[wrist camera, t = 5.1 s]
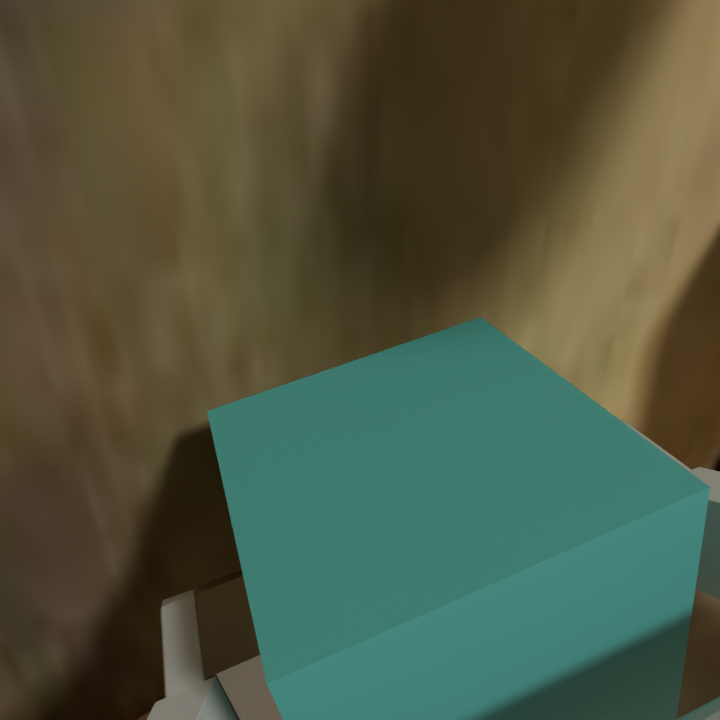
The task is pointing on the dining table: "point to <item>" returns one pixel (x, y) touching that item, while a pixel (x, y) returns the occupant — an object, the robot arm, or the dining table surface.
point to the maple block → (701, 655)
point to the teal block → (459, 540)
